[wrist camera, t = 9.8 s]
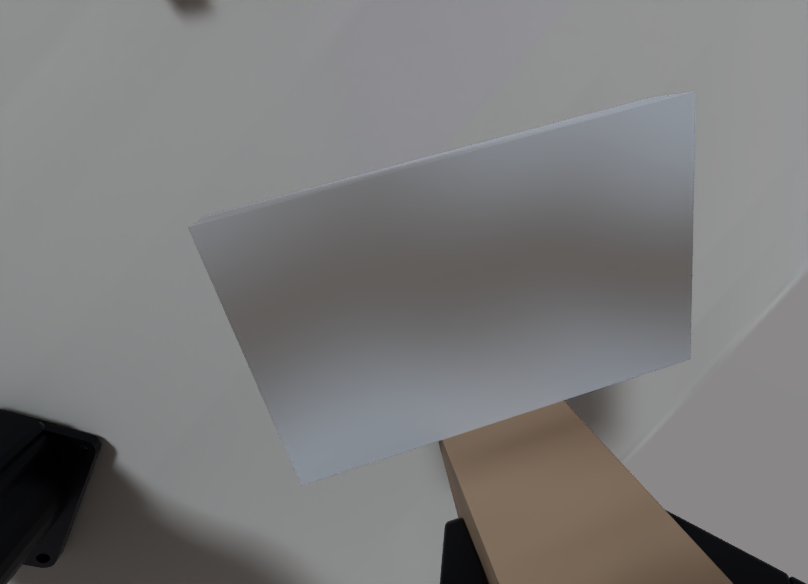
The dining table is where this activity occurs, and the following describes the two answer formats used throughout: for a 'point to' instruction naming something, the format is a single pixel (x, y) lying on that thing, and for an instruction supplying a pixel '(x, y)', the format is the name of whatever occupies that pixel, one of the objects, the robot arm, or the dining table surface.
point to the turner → (484, 329)
